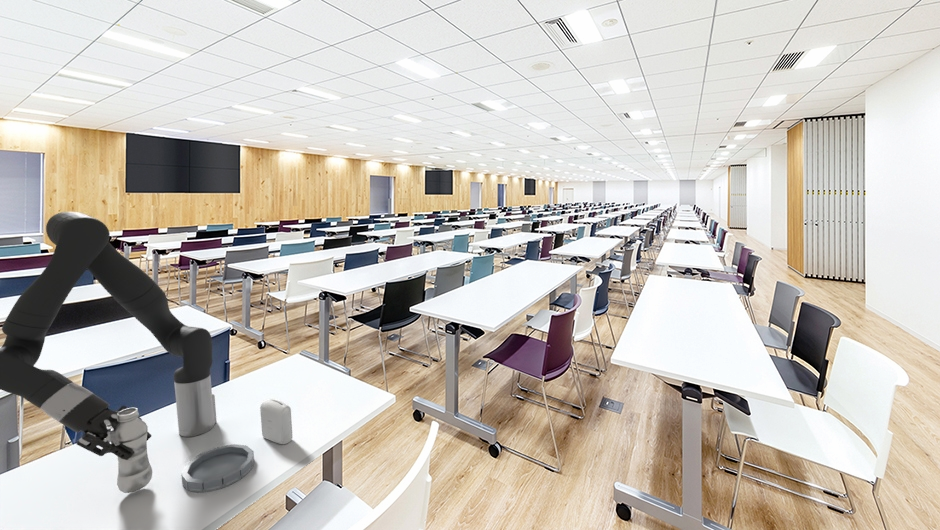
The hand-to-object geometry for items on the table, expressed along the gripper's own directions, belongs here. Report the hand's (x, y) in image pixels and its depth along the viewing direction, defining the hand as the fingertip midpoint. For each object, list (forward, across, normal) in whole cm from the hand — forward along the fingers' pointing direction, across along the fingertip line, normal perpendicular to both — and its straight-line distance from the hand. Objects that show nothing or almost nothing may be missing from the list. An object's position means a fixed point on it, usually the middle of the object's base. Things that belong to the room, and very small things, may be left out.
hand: (139, 447), depth 94 cm
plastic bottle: (+6, 0, +9) cm, 11 cm away
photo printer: (+27, +17, -10) cm, 34 cm away
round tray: (+19, +4, -2) cm, 20 cm away
